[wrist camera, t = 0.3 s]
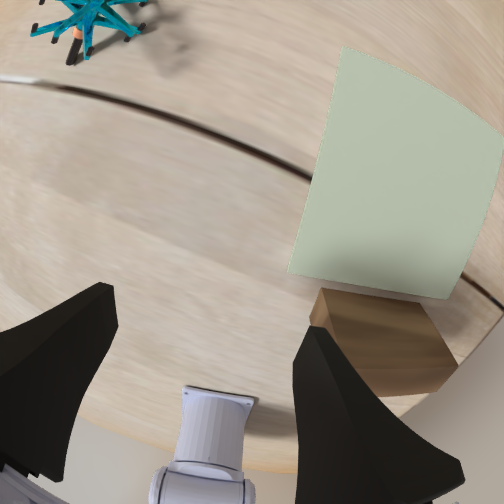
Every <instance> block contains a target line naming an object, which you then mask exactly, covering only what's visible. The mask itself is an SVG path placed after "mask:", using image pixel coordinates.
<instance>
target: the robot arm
mask: <svg viewBox="0 0 504 504" xmlns="http://www.w3.org/2000/svg"><path fill="white" fill-rule="evenodd" d="M117 329H118V320H117V313H116V305H115V297H114V287H113V285H109V284H106V283H102V282H99V283H96V284H94V285H92V286H91V287H89V288H87V289H85V290H83V291H82V292H80V293H78V294H76V295H75V296H73V297H71V298H70V299H68V300H66V301H64V302H63V303H61V304H59V305H57V306H56V307H54V308H52V309H50V310H48V311H46V312H44V313H43V314H41V315H39V316H37V317H35V318H33V319H31V320H29V321H27V322H25V323H23V324H20V325H18V326H16V327H13V328H11V329H9V330H6V331H3V332H0V504H69V503H67V502H65V501H63V500H61V499H60V498H58V497H56V496H54V495H53V494H51V493H49V492H48V491H46V490H44V489H43V488H41V487H39V486H38V485H36V484H35V483H33V482H32V481H30V480H29V479H27V477H28V474H29V473H30V474H32V475H33V476H35V477H36V478H38V476H39V474H42V475H43V476H45V477H47V478H48V479H50V480H52V481H54V482H61V481H63V475H64V467H65V460H66V454H67V449H68V444H69V440H70V436H71V432H72V428H73V425H74V421H75V418H76V415H77V412H78V409H79V407H80V404H81V401H82V399H83V396H84V394H85V392H86V390H87V388H88V386H89V384H90V383H91V381H92V379H93V377H94V375H95V373H96V372H97V370H98V368H99V366H100V364H101V363H102V361H103V359H104V357H105V355H106V354H107V352H108V350H109V348H110V346H111V343H112V341H113V339H114V336H115V334H116V331H117ZM293 396H294V405H295V413H296V422H297V431H298V445H299V450H298V477H297V490H296V498H295V504H433V502H432V500H434V499H436V498H438V497H440V496H442V495H444V494H446V493H448V492H450V491H452V490H453V489H455V488H457V487H459V486H460V485H462V484H463V483H464V482H465V477H464V474H463V470H462V467H461V463H460V461H459V460H458V459H456V458H454V457H453V456H451V455H449V454H447V453H445V452H443V451H442V450H440V449H438V448H436V447H434V446H433V445H432V444H430V443H429V442H427V441H426V440H424V439H423V438H422V437H420V436H419V435H418V434H416V433H415V432H414V431H412V430H411V429H410V428H409V427H408V426H406V425H405V424H404V423H403V422H402V421H401V420H400V419H398V418H397V417H396V416H395V415H394V414H393V413H392V412H391V411H390V410H389V409H388V408H387V407H386V406H385V405H384V404H383V403H382V402H381V401H380V399H379V398H378V397H377V396H376V395H375V394H374V393H373V391H372V390H371V389H370V388H369V387H368V385H367V384H366V383H365V382H364V381H363V379H362V378H361V377H360V375H359V374H358V373H357V371H356V370H355V369H354V367H353V366H352V365H351V363H350V362H349V361H348V359H347V358H346V356H345V355H344V353H343V352H342V351H341V349H340V348H339V346H338V345H337V343H336V342H335V341H334V339H333V338H332V336H331V335H330V333H329V332H328V331H327V329H326V328H324V327H316V326H309V328H308V330H307V333H306V335H305V337H304V339H303V342H302V344H301V346H300V348H299V351H298V353H297V355H296V357H295V359H294V361H293ZM253 404H254V399H253V398H251V397H243V396H237V395H230V394H224V393H218V392H213V391H207V390H202V389H197V388H192V387H188V386H184V387H183V389H182V423H181V427H180V432H179V436H178V441H177V445H176V450H175V454H174V459H173V461H169V465H168V467H166V466H162V467H161V468H160V469H158V470H156V472H155V474H154V476H153V478H152V481H151V485H150V490H149V504H255V498H256V496H255V495H256V494H255V486H254V484H253V483H252V482H251V481H250V480H249V479H244V472H241V471H242V456H243V441H244V426H245V422H246V420H247V418H248V415H249V413H250V411H251V408H252V406H253ZM453 504H459V503H458V502H455V503H453Z"/></svg>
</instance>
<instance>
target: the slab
mask: <svg viewBox="0 0 504 504" xmlns="http://www.w3.org/2000/svg"><path fill="white" fill-rule="evenodd" d="M309 318H310V323H311V326H316V327H324V328H326V329H327V331H328V332H329V333H330V335H331V336H332V338H333V339H334V341H335V342H336V343H337V345H338V346H339V348H340V349H341V351H342V352H343V353H344V355H345V356H346V358H347V359H348V361H349V362H350V363H351V365H352V366H353V367H354V369H355V370H356V371H357V373H358V374H359V375H360V377H361V378H362V379H363V381H364V382H365V383H366V384H367V385H368V387H369V388H370V389H371V390H372V391H373V393H374V394H375V395H376V396H377V397H390V396H404V395H414V394H423V393H431V392H437V391H438V389H439V388H440V387H441V386H442V385H443V384H444V383H445V382H446V381H447V379H448V378H449V377H450V376H451V375H452V374H453V372H454V371H455V370H456V369H457V368H458V366H459V365H458V364H457V362H456V360H455V358H454V357H453V355H452V353H451V352H450V350H449V348H448V347H447V345H446V343H445V342H444V340H443V338H442V337H441V335H440V334H439V332H438V330H437V329H436V327H435V326H434V324H433V323H432V321H431V320H430V318H429V317H428V315H427V314H426V312H425V311H424V309H423V308H422V306H421V305H420V303H416V302H409V301H402V300H396V299H389V298H382V297H376V296H370V295H363V294H357V293H351V292H345V291H338V290H332V289H326V288H321V289H320V292H319V294H318V297H317V300H316V302H315V305H314V307H313V310H312V312H311V314H310V317H309Z"/></svg>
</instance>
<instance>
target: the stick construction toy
mask: <svg viewBox="0 0 504 504" xmlns="http://www.w3.org/2000/svg"><path fill="white" fill-rule="evenodd" d="M57 1H61V2H62V3H64V4H65V5H66V6H67V7H68V8H69V9H70V10H71V11H72V12H73V13H74V14H73V15H72V16H71V17H70V18H68V19H66V20H62V21H59V22H55V23H52V24H49V25H46V26H43V27H40V28H38V23H35V24H33V25H32V30H31V34H30V36H31V37H34V36H37V35H40V34H44V33H47V32H51V31H54V35H53V38H52V41H51V43H52V44H55V43H57V42H58V39H59V36H60V35H61V34H62V33H63V32H64V31H66V30H67V29H68V28H69V27H72V26H75V28H74V30H73V36H74V37H75V38H74V41H73V43H72V46H71V48H70V51H69V54H68V57H67V60H66V64H67V65H73V64H74V63H75V60H76V58H77V55H78V53H79V50H80V48H81V45H82V43H83V53H84V60H89V59H90V57H91V55H92V53H93V51H94V47H92V36H93V28H94V25H98V26H103V27H108V28H113V29H118V30H122V31H124V32H125V33H126V34H127V36H126V37H125V39H124V41H125V42H129V41H130V40H131V38H132V37H133V35H134V34H140V33H141V32H142V30H143V29H144V28H145V26H146V24H145V23H141V25H140V26H139V27H135V26H132V25H129V24H128V23H127V22H126V21H125V20H124V19H123V18H122V17H121V16H120V15H119V14H118V13H116V12H115V11H114V10H113V9H112V8H111V7H110V6H111V5H116V4H124V3H133V2H140V4H139V6H141V7H143V6H144V5H145V3H146V2H147V1H148V0H57ZM44 2H45V0H40V1H39V5H43V4H44ZM100 14H102V15H103V16H105V17H106V18H105V17H101V16H99V15H100Z"/></svg>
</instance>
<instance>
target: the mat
mask: <svg viewBox="0 0 504 504" xmlns="http://www.w3.org/2000/svg"><path fill="white" fill-rule="evenodd" d="M503 150H504V137H503V136H502V135H501V134H500V133H499V132H498V131H496V130H495V129H494V128H493V127H492V126H490V125H489V124H488V123H486V122H485V121H484V120H483V119H481V118H480V117H479V116H477V115H476V114H475V113H473V112H472V111H470V110H469V109H468V108H466V107H465V106H463V105H462V104H460V103H459V102H457V101H456V100H454V99H453V98H451V97H450V96H448V95H447V94H445V93H443V92H442V91H440V90H438V89H437V88H435V87H433V86H431V85H430V84H428V83H426V82H424V81H423V80H421V79H419V78H417V77H415V76H413V75H411V74H409V73H407V72H405V71H403V70H401V69H399V68H397V67H395V66H393V65H390V64H388V63H386V62H384V61H381V60H379V59H377V58H374V57H372V56H369V55H367V54H364V53H362V52H359V51H356V50H353V49H351V48H348V47H345V46H343V47H342V48H341V53H340V58H339V63H338V68H337V73H336V78H335V83H334V88H333V92H332V97H331V102H330V106H329V111H328V115H327V120H326V124H325V128H324V132H323V137H322V141H321V145H320V149H319V153H318V157H317V161H316V165H315V169H314V173H313V177H312V181H311V185H310V189H309V193H308V196H307V200H306V204H305V208H304V211H303V215H302V219H301V222H300V226H299V230H298V233H297V237H296V240H295V244H294V247H293V251H292V254H291V258H290V261H289V264H288V268H287V273H291V274H296V275H302V276H308V277H313V278H319V279H324V280H330V281H336V282H341V283H347V284H353V285H359V286H364V287H370V288H376V289H382V290H388V291H394V292H400V293H406V294H412V295H418V296H425V297H431V298H437V299H444V300H448V298H449V296H450V294H451V292H452V290H453V289H454V287H455V285H456V283H457V281H458V279H459V277H460V275H461V273H462V271H463V269H464V267H465V265H466V262H467V260H468V258H469V256H470V254H471V251H472V249H473V247H474V244H475V242H476V239H477V237H478V234H479V232H480V229H481V227H482V224H483V221H484V219H485V216H486V213H487V210H488V207H489V204H490V201H491V197H492V194H493V191H494V187H495V184H496V180H497V176H498V172H499V168H500V164H501V159H502V155H503Z"/></svg>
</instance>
